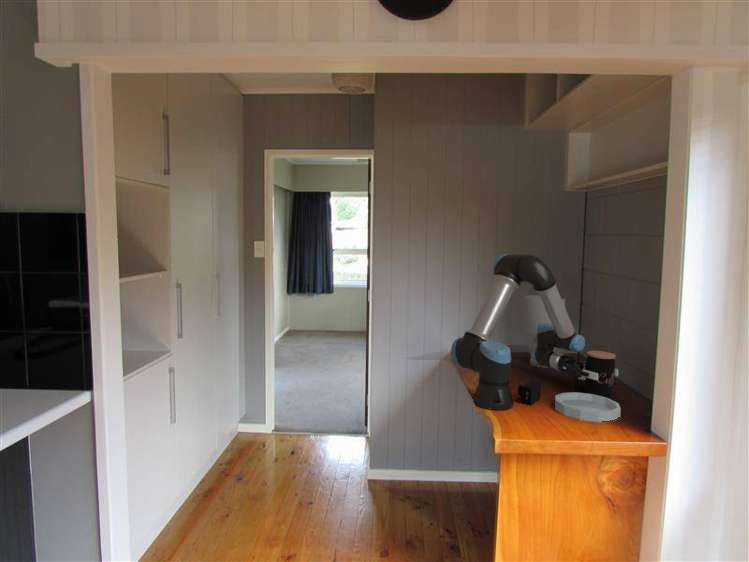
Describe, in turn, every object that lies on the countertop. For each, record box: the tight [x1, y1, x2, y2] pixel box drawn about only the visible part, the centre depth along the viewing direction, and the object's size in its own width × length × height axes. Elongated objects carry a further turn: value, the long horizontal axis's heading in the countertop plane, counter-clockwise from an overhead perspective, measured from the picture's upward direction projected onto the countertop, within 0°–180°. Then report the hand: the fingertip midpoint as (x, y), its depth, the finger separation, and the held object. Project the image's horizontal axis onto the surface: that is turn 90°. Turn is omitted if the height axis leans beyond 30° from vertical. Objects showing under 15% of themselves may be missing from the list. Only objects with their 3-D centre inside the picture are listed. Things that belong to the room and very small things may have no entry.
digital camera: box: [517, 380, 542, 407], centre depth 185 cm, size 10×5×7 cm, turn 141°
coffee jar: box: [584, 350, 617, 400], centre depth 192 cm, size 11×11×18 cm
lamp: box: [522, 294, 566, 369], centre depth 241 cm, size 20×20×35 cm
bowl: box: [554, 391, 622, 423], centre depth 176 cm, size 22×22×4 cm
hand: (607, 374), depth 189 cm, fingers open, 12 cm apart
